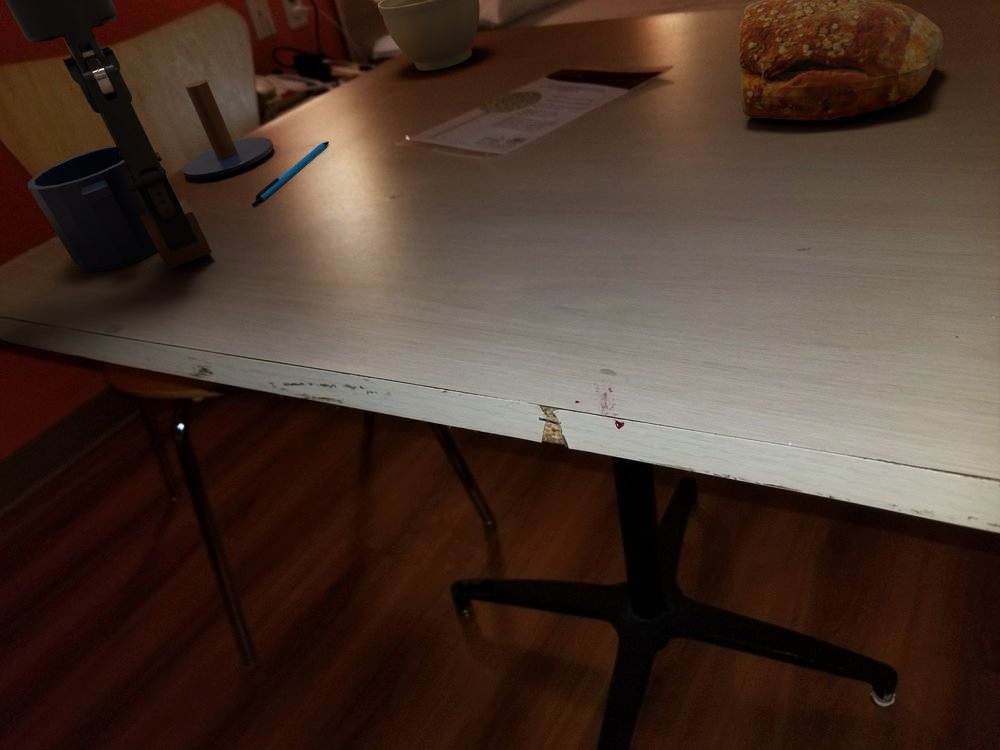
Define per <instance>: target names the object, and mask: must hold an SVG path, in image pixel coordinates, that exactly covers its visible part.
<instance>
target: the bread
mask: <svg viewBox="0 0 1000 750" xmlns="http://www.w3.org/2000/svg"><path fill="white" fill-rule="evenodd" d="M738 28H739V29H738V41H737V45H738V47H737V48H738V51H737V53H738V59H739V65H740V98H741V99H740V100H741V101H740V102H741V107H742V111H743V113H744V115H745V116H746V117H749V118H754V119H773V120H787V121H805V122H807V121H831V120H837V119H843V118H847V117H848V118H849V117H853V116H857V115H862V114H865V113H870V112H874V111H879V110H883V109H888V108H892V107H895V106H898V105H900V104H902V103H904V102H906V101H909V100H911V99H913V98H914V97H915V96H916V95H918V94H919V92H921V91H922V90H923V88H924V87H925V86H926V85H927V83H928V80H929V79H930V77H931V75H932V73H933V71H934V69H935V68H936V67H937V65H938V64H939V63H940V60H941V56H942V50H943V48H944V44H945V43H944V37H943V33H942V30H941V28H940V27H939V26H938V25H937V24H936V23H934V22H933V21H931V20H930V19H929V18H928V17H927V16H926V15H924V14H922V13H921V12H918V11H917V10H914V9H913V8H912V7H909V6H908V5H906V4H902V3H898V2H894V1H890V0H758V1H755V2H753V3H750V4H748V5H747V6H746V7H745V8H744V10H743V15H742V19H741V21H740V23H739V27H738Z"/></svg>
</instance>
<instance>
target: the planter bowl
mask: <svg viewBox="0 0 1000 750" xmlns="http://www.w3.org/2000/svg"><path fill="white" fill-rule="evenodd" d="M480 6H481V5H480V0H381V1H380V2H378V4H377V8H378V11H379V13H380V15H381V16H382V19H383V22H384V25H385V28H386V30H387V32H388V33H389V35H390V37H391V39H392V41H393V42H394V43H395V45H396V46H397V47H398V49H400V51H401V52H402V54H404V55H405V56H406V57H408V58H409V59H410V60H411V61H412V62H413V64H414V66H415V68H416V69H417V70H418V71H422V72H423V71H424V72H431V71H437V70H442V69H447V68H450V67H453V66H456V65H459V64H462V63H464V62H466V61H467V60H469V58H471V57H472V55H473V48H472V46H473V43H474V41H475V39H476V36H477V33H478V29H479V23H480V22H479V21H480V14H481V13H480V11H481V8H480Z"/></svg>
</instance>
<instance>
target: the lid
mask: <svg viewBox="0 0 1000 750" xmlns="http://www.w3.org/2000/svg"><path fill="white" fill-rule="evenodd" d="M185 90H186V92H187V95H188V97H189V98H190V101H191V103H192V106H193V107H194V110H195V112H196V114H197V116H198V119H199V121H200V123H201V125H202V127H203V131H204V132H205V135H206V136H207V139H208V141H209V144H210V146H211V148H209V149H207V150H206V151H203V152H201V153H199V154H197V155H196V156H194V157H192V158H190V159H189V160H188V161H186V163H184V165H183V166H182V168H181V171H182V173H183V176H184V177H186V178H188V179H207V178H214V177H215V178H216V177H222V176H225V175H229V174H232V173H236V172H238V171H241V170H243V169H246V168H247V167H250V166H251V165H254V164H255V163H257V162H258V161H260V160H262V159H264V158H265V157H267V155H270V153H272V151H273V150H274V143H273V141H272V140H271V139H270V138H268V137H249V138H243V139H242V138H241V139H238V140H233V138H232V136H231V134H230V133H231V132H230V131H229V128H228V127H227V124H226V121H225V120H224V117H223V115H222V112H221V110H220V108H219V105H218V104H217V103H218V102H217V101H216V99H215V96H214V94H213V91H212V88H211V86H210V84H209V81H208V80H207V79H201V80H198V81H197V80H196V81H193V82H191V83H188V84H187V85H185Z"/></svg>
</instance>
